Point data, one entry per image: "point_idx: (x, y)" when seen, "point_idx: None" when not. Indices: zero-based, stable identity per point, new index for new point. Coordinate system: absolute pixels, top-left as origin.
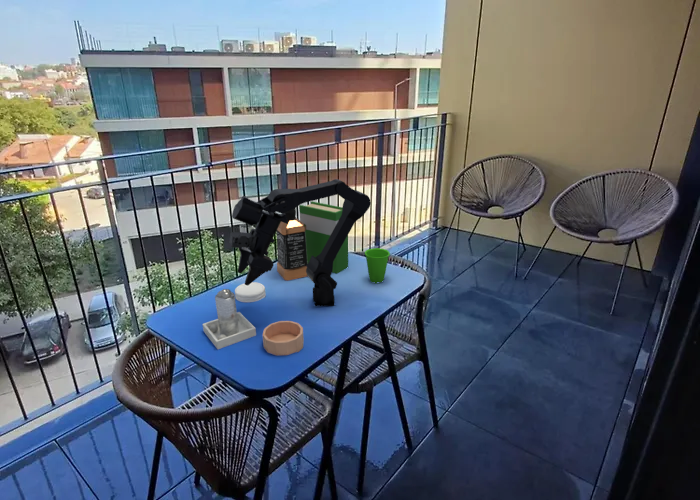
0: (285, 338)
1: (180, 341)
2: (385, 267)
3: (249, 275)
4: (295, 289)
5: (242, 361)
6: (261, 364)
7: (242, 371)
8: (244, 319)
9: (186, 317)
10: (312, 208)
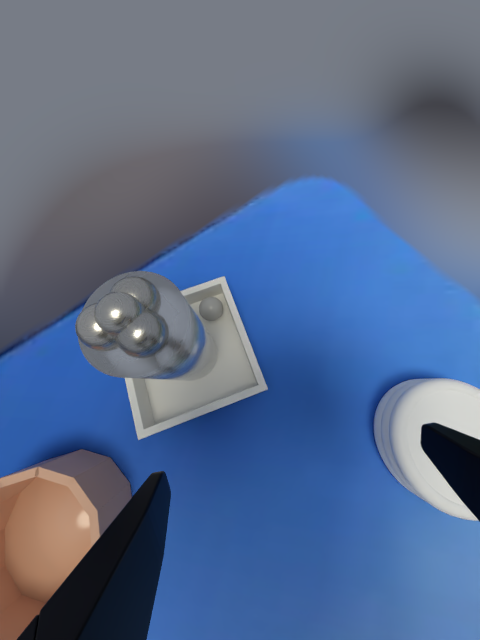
0: (85, 538)
1: (205, 240)
2: None
3: (46, 624)
4: None
5: (55, 382)
6: (16, 433)
7: (15, 380)
8: (209, 404)
9: (319, 245)
10: None
